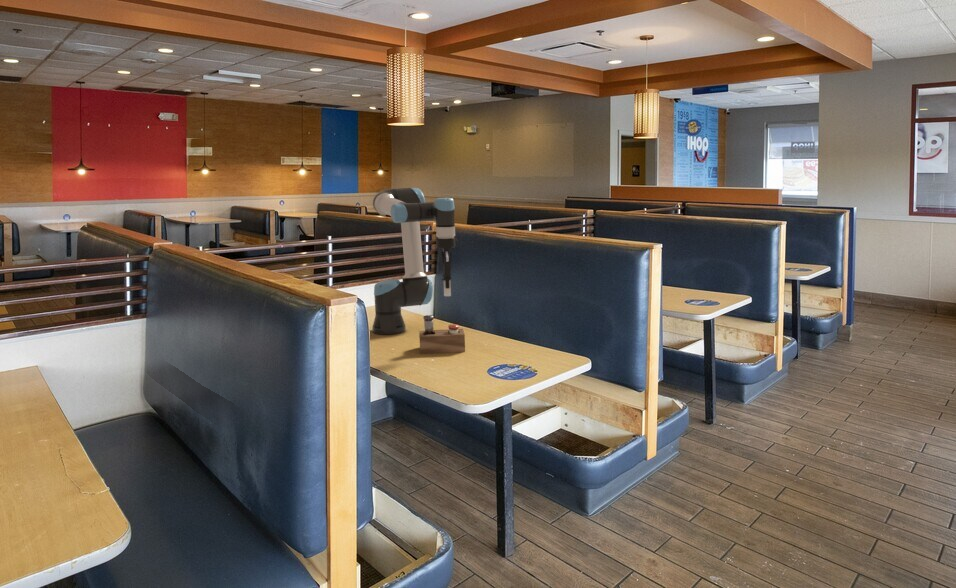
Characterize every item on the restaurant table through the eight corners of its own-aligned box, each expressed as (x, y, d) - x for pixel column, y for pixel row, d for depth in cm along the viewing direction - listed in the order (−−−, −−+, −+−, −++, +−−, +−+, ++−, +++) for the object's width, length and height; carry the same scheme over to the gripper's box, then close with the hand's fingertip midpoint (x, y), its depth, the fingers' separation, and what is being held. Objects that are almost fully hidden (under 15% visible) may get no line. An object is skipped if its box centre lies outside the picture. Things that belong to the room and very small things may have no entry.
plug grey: (424, 333, 266) (423, 315, 265) (434, 332, 266) (433, 315, 265) (424, 335, 262) (423, 317, 260) (434, 335, 262) (433, 317, 261)
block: (420, 347, 270) (419, 330, 269) (463, 345, 271) (462, 328, 270) (420, 353, 260) (419, 336, 259) (465, 351, 262) (464, 334, 260)
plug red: (448, 342, 268) (448, 324, 266) (459, 341, 268) (458, 324, 267) (449, 345, 264) (448, 327, 262) (459, 344, 264) (459, 326, 262)
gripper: (435, 235, 263) (437, 293, 268) (437, 239, 251) (439, 299, 255) (453, 235, 264) (455, 292, 269) (456, 238, 252) (458, 298, 256)
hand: (447, 295), depth 262 cm, fingers closed
